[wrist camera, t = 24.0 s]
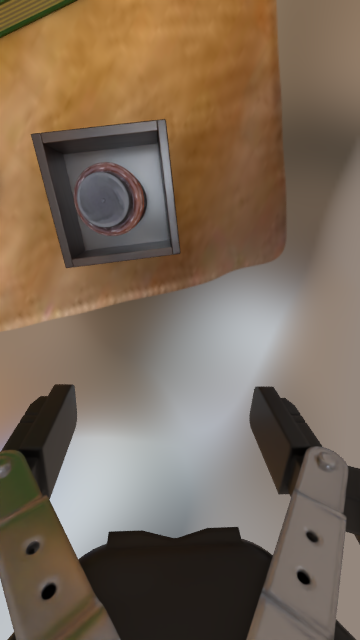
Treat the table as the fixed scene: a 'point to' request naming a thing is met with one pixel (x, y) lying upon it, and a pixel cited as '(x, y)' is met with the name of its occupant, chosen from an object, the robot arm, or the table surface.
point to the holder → (134, 155)
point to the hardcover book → (25, 12)
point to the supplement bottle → (109, 199)
